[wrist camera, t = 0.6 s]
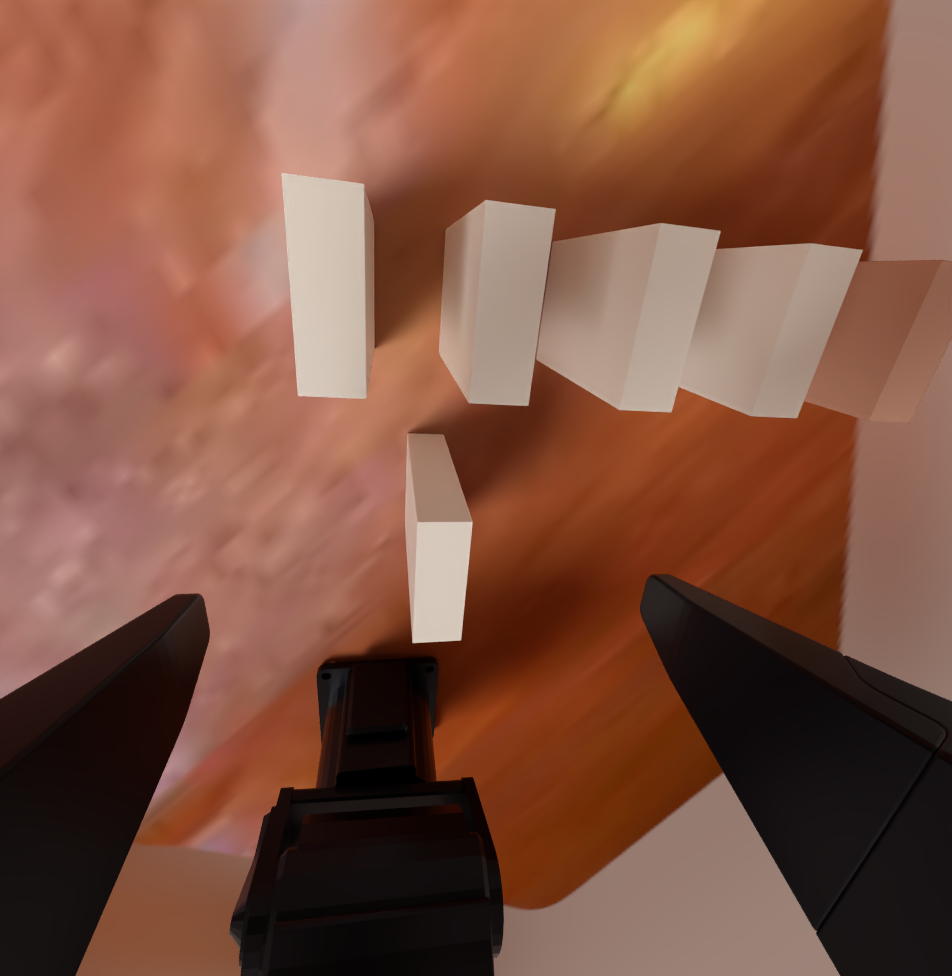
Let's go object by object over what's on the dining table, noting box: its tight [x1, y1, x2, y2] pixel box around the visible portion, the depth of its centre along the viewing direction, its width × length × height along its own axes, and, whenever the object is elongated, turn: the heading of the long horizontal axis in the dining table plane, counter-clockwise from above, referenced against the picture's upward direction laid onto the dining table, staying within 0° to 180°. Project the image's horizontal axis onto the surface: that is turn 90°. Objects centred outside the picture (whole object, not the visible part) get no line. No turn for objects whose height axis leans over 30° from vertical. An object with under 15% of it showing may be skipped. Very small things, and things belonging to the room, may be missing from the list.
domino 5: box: [679, 243, 863, 418], centre depth 16 cm, size 4×2×8 cm, turn 175°
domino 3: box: [439, 200, 556, 406], centre depth 15 cm, size 4×2×8 cm, turn 175°
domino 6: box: [804, 260, 952, 423], centre depth 17 cm, size 4×2×8 cm, turn 175°
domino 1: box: [282, 173, 375, 399], centre depth 14 cm, size 4×2×8 cm, turn 175°
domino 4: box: [536, 223, 721, 412], centre depth 15 cm, size 4×2×8 cm, turn 175°
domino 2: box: [405, 433, 473, 643], centre depth 18 cm, size 4×2×8 cm, turn 175°
